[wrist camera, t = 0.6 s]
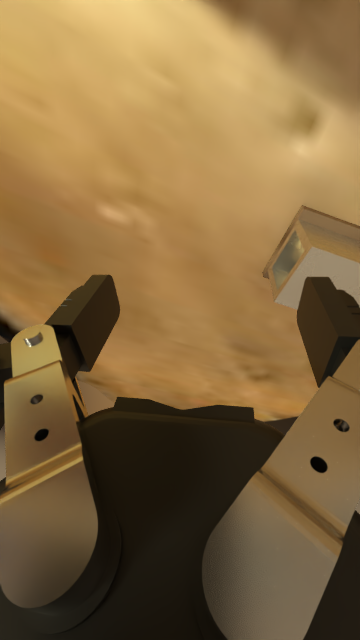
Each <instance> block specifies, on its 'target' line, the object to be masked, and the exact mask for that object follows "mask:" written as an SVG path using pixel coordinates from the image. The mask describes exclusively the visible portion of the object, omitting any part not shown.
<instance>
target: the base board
mask: <svg viewBox="0 0 360 640" xmlns="http://www.w3.org/2000/svg"><path fill="white" fill-rule="evenodd" d="M298 219H300V220H303V221H306V222H308V223H311V224H314V225H317V226H319V227H322V228H325V229H328V230H330V231H333V232H336V233H339V234H341V235H344V236H347V237H350V238H352V239H355V240H358V241H360V226H357V225H354V224H352V223H349V222H346V221H343V220H341V219H338V218H335V217H333V216H330V215H327V214H324V213H322V212H319V211H316V210H314V209H311V208H308V207H305V206H303V205H302V206H301V208H300V210H299V211H298V213H297V215H296V216H295V218H294V220H293V222H292V223H291V225H290V227H289V228H288V230H287V232H286V233H285V235H284V237H283V238H282V240H281V242H280V244H279V245H278V247H277V249H276V250H275V252H274V254H273V255H272V257H271V259H270V260H269V262H268V264H267V265H266V267H265V269H264V271H263V272H262V273H263V277H265V278H268V279H269V274H268V268H269V266H270V265H271V263H272V261H273V260H274V258H275V256H276V255H277V253H278V252H279V250H280V248H281V247H282V245H283V243H284V242H285V240H286V238H287V237H288V235H289V233H290V232H291V230H292V228H293V227H294V225H295V223H296V222H297V220H298Z"/></svg>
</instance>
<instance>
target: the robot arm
mask: <svg viewBox="0 0 360 640" xmlns="http://www.w3.org/2000/svg"><path fill="white" fill-rule="evenodd" d="M119 314H120V305H119V301H118V297H117V293H116V289H115V285H114V281H113V278H112V276H111V275H92V276H91V277H90V278H89V279H88V281H87V282H86V283H85V284H84V286H80V287H79V288H77V289H76V290H74V291H73V292H71V294H70V295H69V296H68V297H67V298H66V300H65V301H64V302H63V303H62V304H61V306H59V308H58V309H57V310H56V311H55V312H54V313H53V315H52V316H51V317H50V318H49V319H48V320H47V322H46V323H45V324H44V325H35V326H31V327H29V328H26V329H24V330H22V331H21V332H19V333H18V334H17V335H16V336H15V337H14V338H13V340H12V342H10V343H5V344H0V430H1V428H2V426H3V425H4V424H5V447H6V448H5V449H6V450H5V451H6V477H5V478H4V479H3V480H1V481H0V640H360V514H359V513H357V511H356V510H355V509H356V507H357V504H358V502H359V500H360V308H359V304H358V303H357V302H356V300H355V299H354V297H353V296H351V295H350V294H348V293H347V292H345V291H344V290H337V289H336V287H335V286H334V284H333V282H332V281H331V279H330V278H329V277H307V278H306V279H305V282H304V285H303V289H302V294H301V298H300V302H299V306H298V310H297V324H298V327H299V330H300V333H301V336H302V339H303V343H304V346H305V349H306V352H307V355H308V358H309V361H310V364H311V367H312V370H313V373H314V376H315V379H316V382H317V386H318V388H319V389H318V391H317V392H316V394H315V395H314V396H313V398H312V399H311V401H310V402H309V403H308V405H307V406H306V407H305V409H304V410H303V412H302V413H301V414H300V416H299V417H298V419H297V420H296V421H295V423H294V424H293V426H292V427H291V428H290V430H289V431H288V433H287V434H286V435H284V434H283V433H281V432H280V431H279V430H277V429H276V428H274V427H272V426H270V425H269V424H266V423H264V422H262V421H259V420H256V419H254V410H253V408H251V407H238V406H226V405H214V406H207V407H200V408H193V409H186V410H180V409H176V408H173V407H170V406H167V405H164V404H161V403H158V402H155V401H152V400H149V399H138V398H126V397H117V399H116V402H115V405H114V407H112V408H108V409H104V410H101V411H98V412H96V413H94V414H91V415H88V412H87V409H86V406H85V403H84V400H83V397H82V393H81V390H80V387H79V384H78V381H77V379H76V377H75V376H76V374H77V372H78V371H86V372H90V371H91V369H92V367H93V365H94V363H95V361H96V360H97V358H98V356H99V354H100V352H101V350H102V348H103V346H104V344H105V342H106V341H107V339H108V337H109V335H110V333H111V331H112V329H113V327H114V325H115V324H116V322H117V320H118V318H119Z"/></svg>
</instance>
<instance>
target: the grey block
mask: <svg viewBox="0 0 360 640" xmlns="http://www.w3.org/2000/svg"><path fill="white" fill-rule="evenodd" d="M268 274H269V279H270V284H271V289H272V294H273V299H274V302H276V303H279V304H282V305H285V306H288V307H291V308H294V309H297V310H298V306H299V302H300V298H301V294H302V289H303V285H304V282H305V279H306V278H307V277H329V278H330V279H331V281H332V282H333V284H334V286H335V287H336V289H337V290H344V291H345V292H347V293H348V294H350V295H351V296H353V297H354V299H355V300H356V302H357V303H358V304H359V308H360V241H358V240H355V239H352V238H350V237H347V236H344V235H341V234H339V233H336V232H333V231H330V230H328V229H325V228H322V227H319V226H317V225H314V224H311V223H308V222H306V221H303V220H300V219H298V220H297V222H296V223H295V225H294V227H293V228H292V230H291V232H290V233H289V235H288V237H287V238H286V240H285V242H284V243H283V245H282V247H281V248H280V250H279V252H278V253H277V255H276V256H275V258H274V260H273V261H272V263H271V265H270V266H269V268H268Z"/></svg>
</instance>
